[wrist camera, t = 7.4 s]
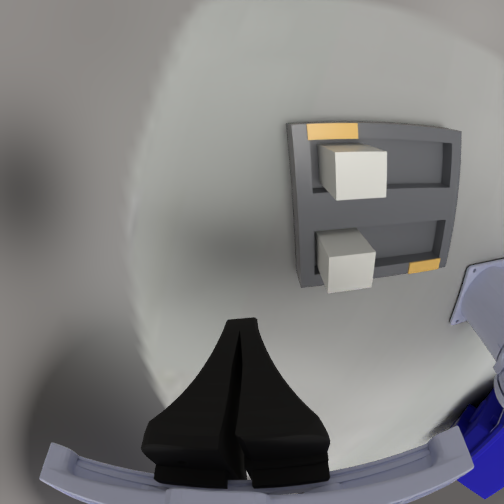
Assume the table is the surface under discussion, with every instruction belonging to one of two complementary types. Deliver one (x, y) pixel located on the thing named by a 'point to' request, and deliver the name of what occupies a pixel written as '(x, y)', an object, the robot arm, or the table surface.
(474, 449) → the blue valve with handwheel
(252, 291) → the table surface
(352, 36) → the table surface
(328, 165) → the white rectangular block
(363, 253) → the white block
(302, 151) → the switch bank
